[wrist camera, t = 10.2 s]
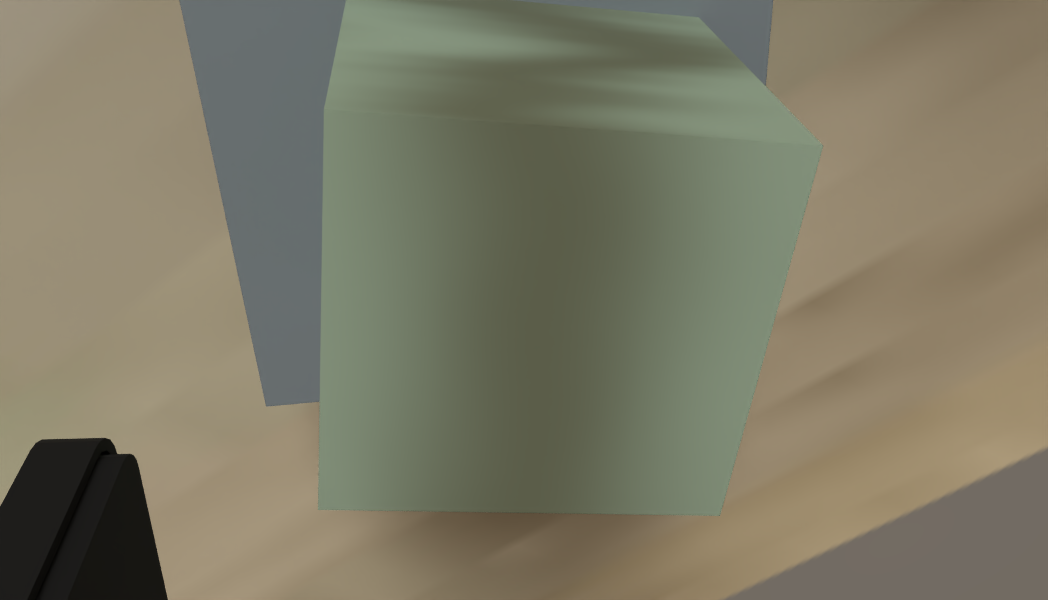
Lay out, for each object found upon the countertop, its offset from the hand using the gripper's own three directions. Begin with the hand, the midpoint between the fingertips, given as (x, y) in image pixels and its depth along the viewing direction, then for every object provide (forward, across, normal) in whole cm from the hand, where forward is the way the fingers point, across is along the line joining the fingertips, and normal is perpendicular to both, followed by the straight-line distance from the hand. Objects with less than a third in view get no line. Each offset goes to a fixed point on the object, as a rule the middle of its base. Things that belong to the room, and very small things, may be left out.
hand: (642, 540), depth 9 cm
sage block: (+10, +1, 0) cm, 10 cm away
